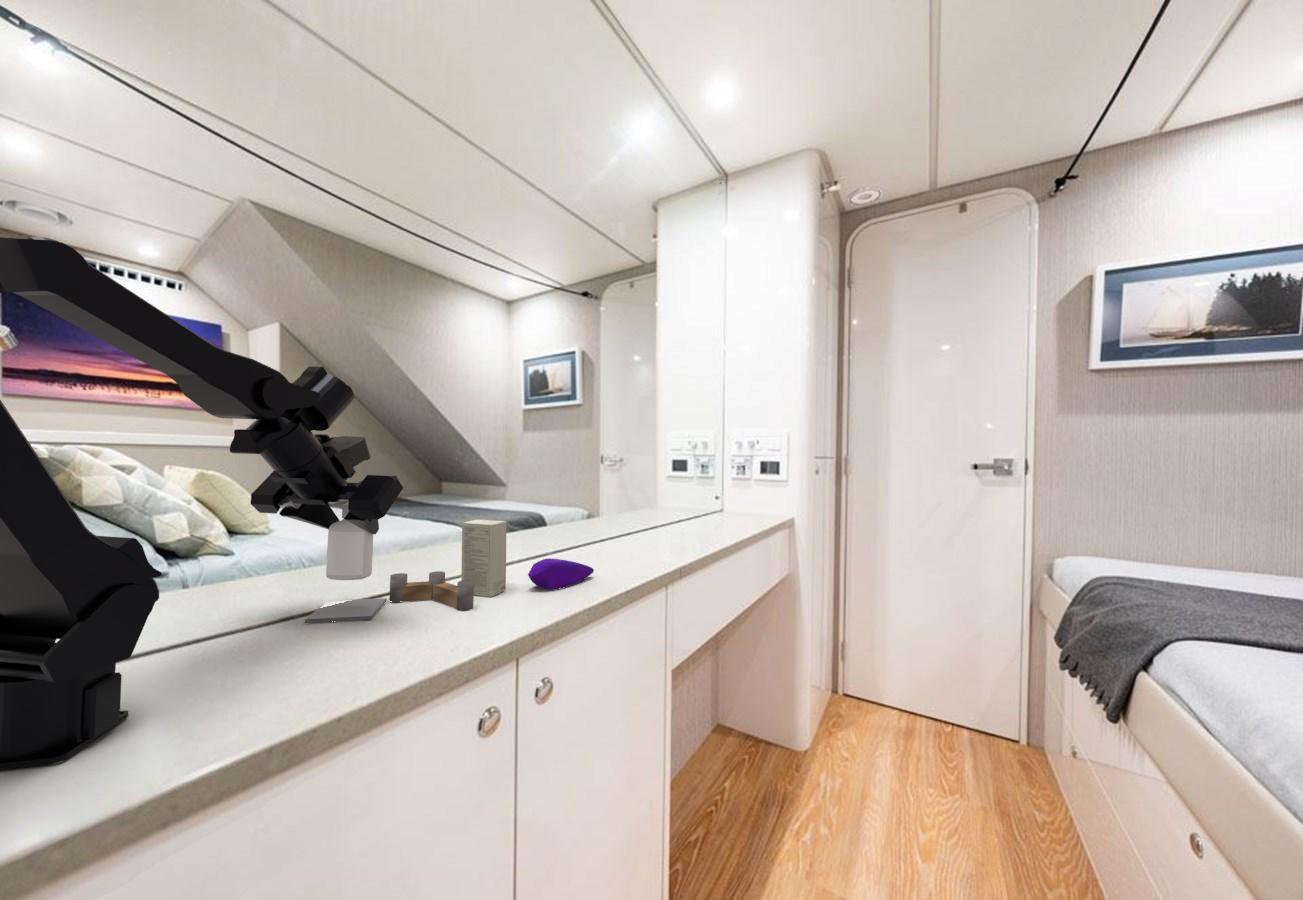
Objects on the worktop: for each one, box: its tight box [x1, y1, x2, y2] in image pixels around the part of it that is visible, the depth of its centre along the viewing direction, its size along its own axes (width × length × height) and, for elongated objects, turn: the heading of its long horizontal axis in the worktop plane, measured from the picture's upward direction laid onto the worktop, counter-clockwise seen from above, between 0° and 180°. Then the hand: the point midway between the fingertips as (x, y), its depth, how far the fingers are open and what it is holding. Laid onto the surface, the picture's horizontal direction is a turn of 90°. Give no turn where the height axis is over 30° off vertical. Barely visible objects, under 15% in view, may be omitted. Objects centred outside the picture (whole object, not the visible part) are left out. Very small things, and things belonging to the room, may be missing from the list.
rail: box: [389, 570, 475, 612], centre depth 73 cm, size 13×8×4 cm, turn 106°
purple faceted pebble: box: [527, 558, 595, 591], centre depth 86 cm, size 5×5×15 cm
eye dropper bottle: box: [325, 501, 374, 581], centre depth 68 cm, size 4×6×12 cm
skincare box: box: [460, 518, 507, 598], centre depth 80 cm, size 6×4×12 cm
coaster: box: [304, 597, 388, 624], centre depth 68 cm, size 8×8×1 cm
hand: (358, 530), depth 69 cm, fingers closed on eye dropper bottle, 6 cm apart
